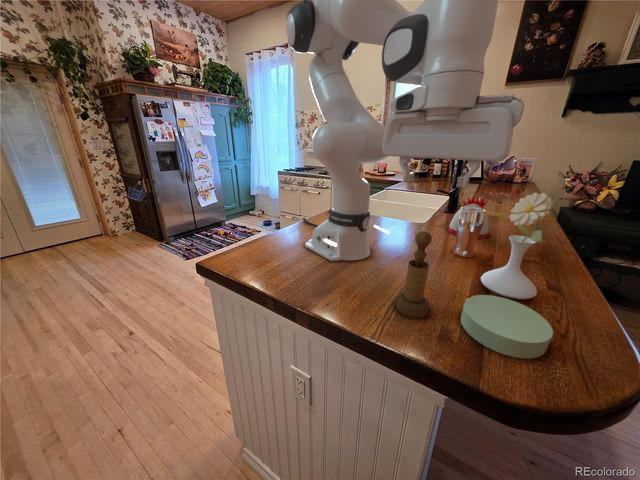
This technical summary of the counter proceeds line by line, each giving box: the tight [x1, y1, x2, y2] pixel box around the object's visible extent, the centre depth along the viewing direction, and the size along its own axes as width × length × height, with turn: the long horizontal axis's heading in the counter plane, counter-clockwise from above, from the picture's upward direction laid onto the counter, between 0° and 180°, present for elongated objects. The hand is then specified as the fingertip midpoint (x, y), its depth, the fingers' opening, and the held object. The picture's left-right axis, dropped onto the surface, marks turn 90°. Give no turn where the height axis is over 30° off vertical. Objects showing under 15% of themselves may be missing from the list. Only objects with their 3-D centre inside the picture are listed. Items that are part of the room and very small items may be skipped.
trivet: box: [460, 294, 554, 359], centre depth 50 cm, size 14×14×4 cm
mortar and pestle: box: [395, 230, 433, 319], centre depth 53 cm, size 7×6×18 cm
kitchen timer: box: [448, 195, 490, 240], centre depth 101 cm, size 14×14×15 cm
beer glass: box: [452, 206, 487, 258], centre depth 81 cm, size 7×7×15 cm
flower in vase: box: [480, 192, 554, 300], centre depth 58 cm, size 13×11×25 cm
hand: (433, 184), depth 46 cm, fingers open, 8 cm apart
